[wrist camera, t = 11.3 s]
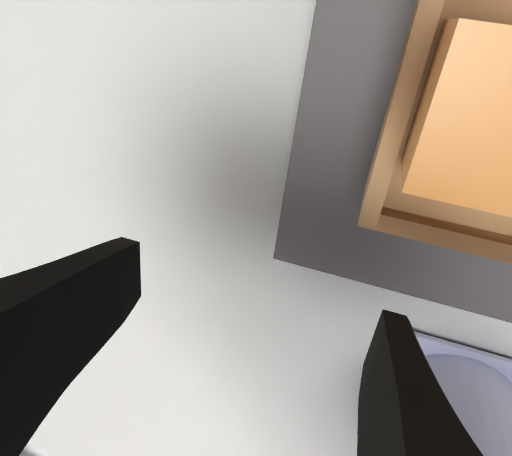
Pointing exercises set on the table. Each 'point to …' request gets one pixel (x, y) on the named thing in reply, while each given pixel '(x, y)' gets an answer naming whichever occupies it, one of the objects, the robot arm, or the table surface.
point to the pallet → (395, 135)
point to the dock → (365, 169)
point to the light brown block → (464, 120)
